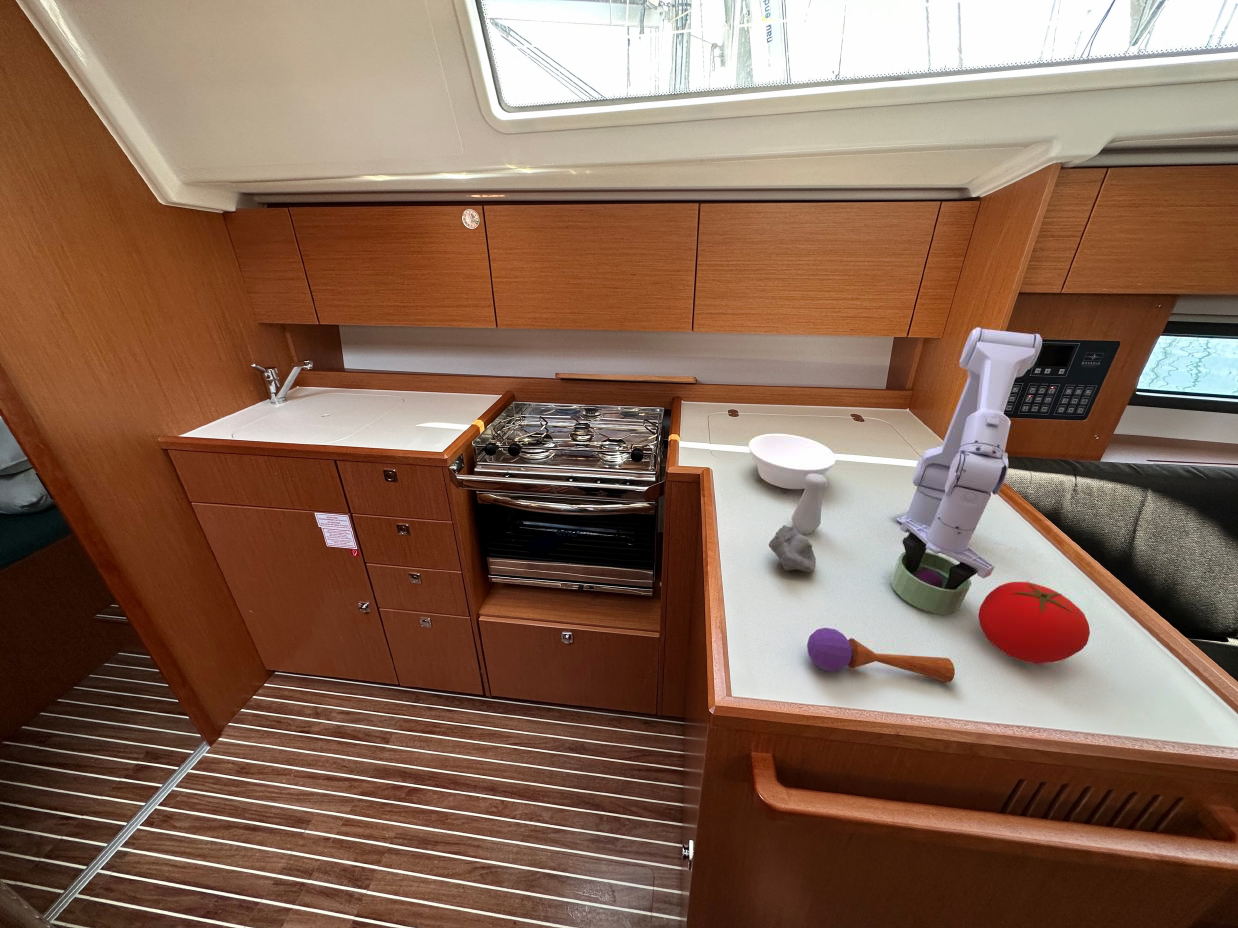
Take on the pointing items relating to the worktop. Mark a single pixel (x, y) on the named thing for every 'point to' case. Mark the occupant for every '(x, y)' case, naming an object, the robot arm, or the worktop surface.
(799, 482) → the bowl
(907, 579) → the green bowl
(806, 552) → the grey rock
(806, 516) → the salt shaker
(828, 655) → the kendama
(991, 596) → the tomato
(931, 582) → the ball
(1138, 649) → the worktop surface
